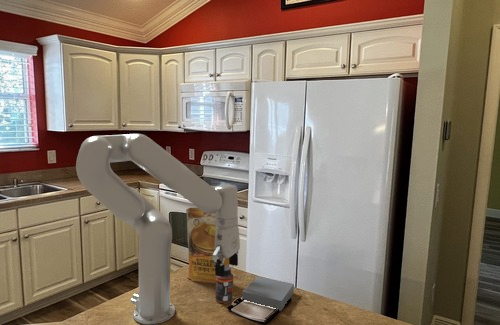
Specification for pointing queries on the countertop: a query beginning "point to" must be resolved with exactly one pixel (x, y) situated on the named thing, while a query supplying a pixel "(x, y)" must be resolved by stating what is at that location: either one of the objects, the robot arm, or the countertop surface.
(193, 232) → the pancake mix bag
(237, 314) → the countertop surface
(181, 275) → the countertop surface
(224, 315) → the countertop surface
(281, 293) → the slate riser block
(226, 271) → the supplement bottle
